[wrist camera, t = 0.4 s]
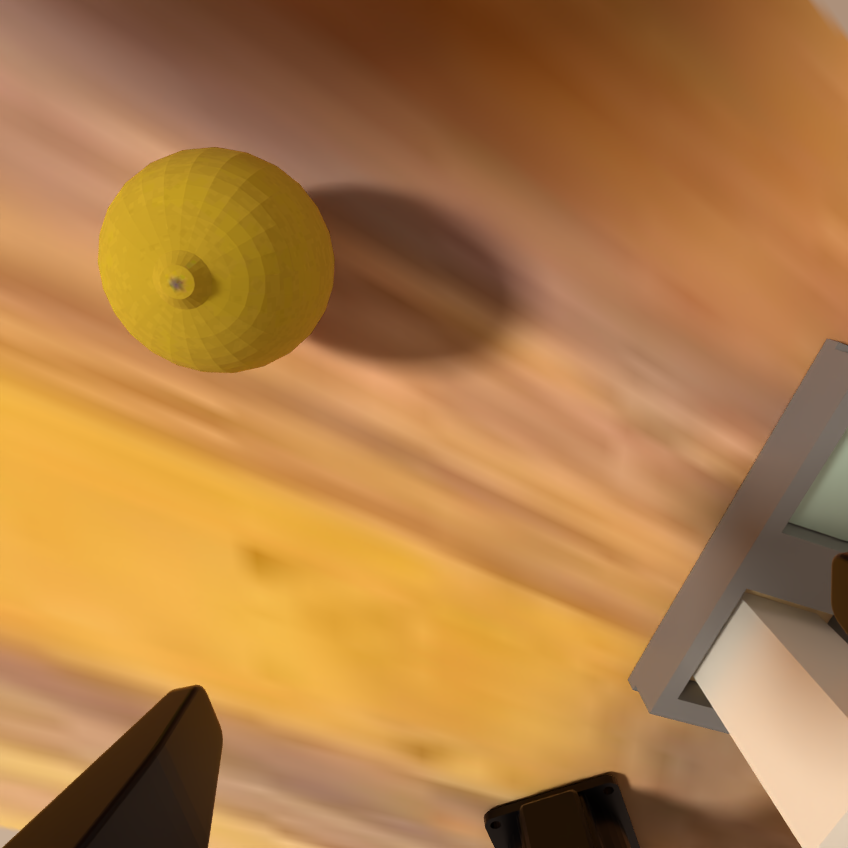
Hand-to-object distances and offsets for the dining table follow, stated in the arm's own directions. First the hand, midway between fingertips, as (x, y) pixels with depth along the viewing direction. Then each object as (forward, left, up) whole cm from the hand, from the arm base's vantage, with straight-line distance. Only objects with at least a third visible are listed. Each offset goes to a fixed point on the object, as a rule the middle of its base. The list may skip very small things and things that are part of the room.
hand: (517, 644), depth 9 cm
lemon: (+6, +4, -14) cm, 16 cm away
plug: (-15, -8, -13) cm, 21 cm away
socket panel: (-12, -11, -14) cm, 21 cm away
